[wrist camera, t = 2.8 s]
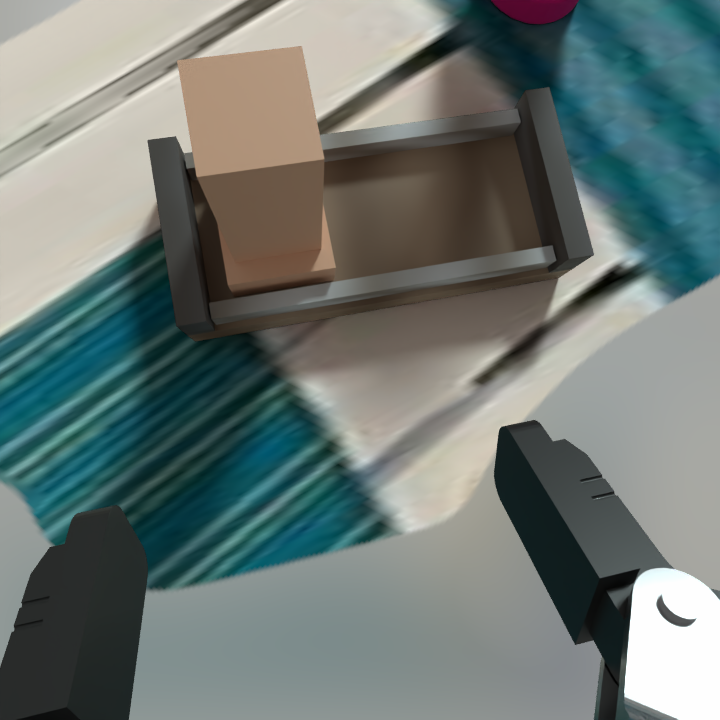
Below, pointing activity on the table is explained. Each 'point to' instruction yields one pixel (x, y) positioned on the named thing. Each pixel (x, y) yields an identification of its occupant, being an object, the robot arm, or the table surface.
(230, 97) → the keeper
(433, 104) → the table surface
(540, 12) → the pepper mill
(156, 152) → the track
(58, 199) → the table surface
